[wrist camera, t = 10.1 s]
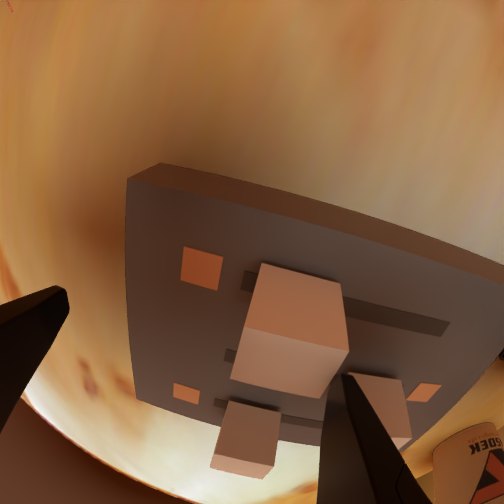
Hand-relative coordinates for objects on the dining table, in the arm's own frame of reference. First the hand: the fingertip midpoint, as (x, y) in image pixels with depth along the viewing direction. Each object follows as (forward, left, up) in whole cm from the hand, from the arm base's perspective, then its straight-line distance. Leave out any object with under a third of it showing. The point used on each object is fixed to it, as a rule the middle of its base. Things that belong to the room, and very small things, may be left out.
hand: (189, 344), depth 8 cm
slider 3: (-8, +4, -4) cm, 10 cm away
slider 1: (-3, +9, -4) cm, 10 cm away
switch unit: (-6, +4, -7) cm, 10 cm away
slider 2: (-3, 0, -4) cm, 5 cm away
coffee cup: (-28, +16, -7) cm, 33 cm away
